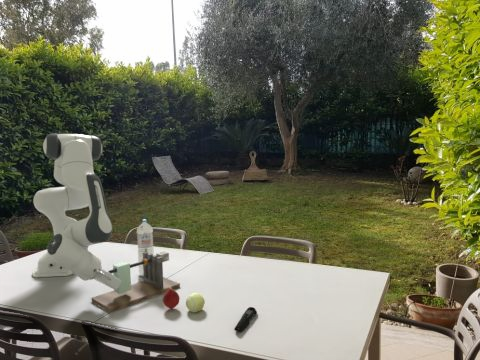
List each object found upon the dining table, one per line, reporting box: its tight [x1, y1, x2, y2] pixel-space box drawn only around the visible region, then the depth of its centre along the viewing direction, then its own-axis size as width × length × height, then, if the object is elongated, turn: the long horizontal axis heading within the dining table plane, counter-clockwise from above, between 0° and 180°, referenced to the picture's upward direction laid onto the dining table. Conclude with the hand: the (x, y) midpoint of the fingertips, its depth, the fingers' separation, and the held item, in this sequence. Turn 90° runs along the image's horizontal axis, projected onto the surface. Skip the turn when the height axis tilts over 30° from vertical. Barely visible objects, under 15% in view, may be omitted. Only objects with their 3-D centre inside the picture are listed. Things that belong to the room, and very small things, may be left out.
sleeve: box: [112, 261, 132, 294], centre depth 151 cm, size 5×4×10 cm
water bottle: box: [136, 218, 155, 278], centre depth 176 cm, size 7×7×25 cm
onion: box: [162, 287, 181, 310], centre depth 142 cm, size 6×6×8 cm
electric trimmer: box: [233, 306, 258, 332], centre depth 131 cm, size 4×16×3 cm, turn 159°
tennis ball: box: [185, 292, 205, 313], centre depth 141 cm, size 6×7×7 cm
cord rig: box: [90, 251, 181, 314], centre depth 155 cm, size 31×14×14 cm, turn 137°
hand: (114, 285), depth 149 cm, fingers closed, pressing on sleeve
